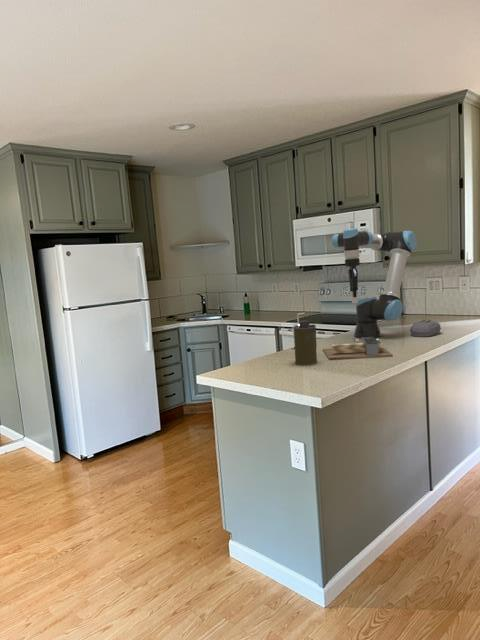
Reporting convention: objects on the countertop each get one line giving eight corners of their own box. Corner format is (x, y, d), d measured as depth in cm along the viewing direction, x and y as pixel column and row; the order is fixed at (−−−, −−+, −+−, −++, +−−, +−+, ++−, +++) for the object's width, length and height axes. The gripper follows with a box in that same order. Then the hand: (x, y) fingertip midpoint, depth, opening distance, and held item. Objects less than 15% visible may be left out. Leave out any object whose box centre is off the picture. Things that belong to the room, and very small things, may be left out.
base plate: (322, 350, 253) (322, 348, 253) (380, 347, 252) (380, 345, 252) (329, 360, 229) (329, 358, 229) (392, 356, 228) (392, 354, 228)
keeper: (361, 351, 240) (361, 337, 239) (372, 350, 240) (372, 336, 239) (366, 355, 229) (366, 341, 228) (378, 355, 229) (378, 340, 228)
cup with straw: (303, 345, 270) (301, 310, 268) (310, 348, 262) (308, 311, 259) (289, 347, 268) (287, 311, 265) (296, 350, 259) (294, 313, 257)
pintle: (374, 341, 237) (374, 338, 237) (379, 341, 237) (379, 338, 236) (375, 342, 234) (375, 339, 234) (381, 342, 234) (381, 339, 234)
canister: (303, 366, 220) (301, 323, 217) (290, 362, 229) (288, 321, 227) (322, 362, 225) (320, 320, 222) (309, 359, 234) (307, 318, 232)
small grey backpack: (419, 331, 292) (405, 336, 278) (419, 318, 291) (404, 322, 277) (444, 333, 282) (431, 338, 268) (444, 318, 281) (430, 323, 266)
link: (382, 349, 238) (381, 341, 238) (384, 351, 233) (383, 343, 233) (332, 352, 240) (331, 344, 240) (333, 354, 235) (332, 346, 235)
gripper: (342, 258, 258) (345, 302, 261) (347, 259, 245) (350, 305, 248) (356, 257, 257) (359, 300, 261) (361, 258, 244) (364, 303, 248)
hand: (354, 303), depth 255 cm, fingers closed
